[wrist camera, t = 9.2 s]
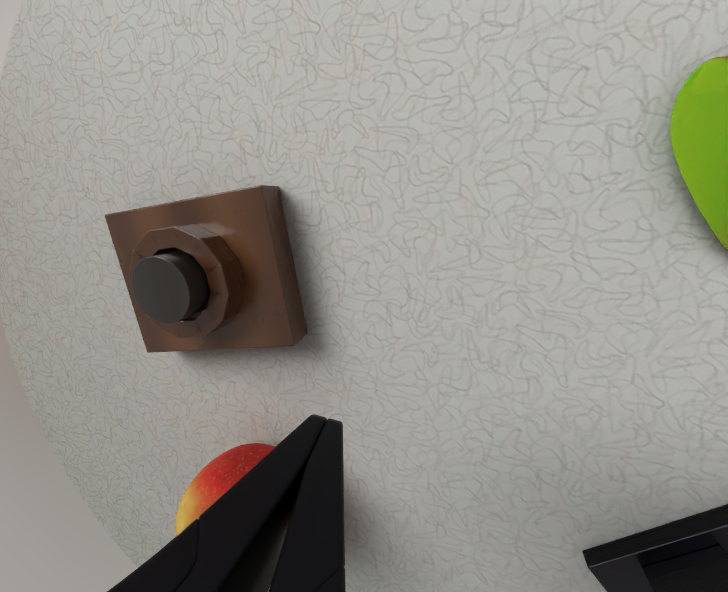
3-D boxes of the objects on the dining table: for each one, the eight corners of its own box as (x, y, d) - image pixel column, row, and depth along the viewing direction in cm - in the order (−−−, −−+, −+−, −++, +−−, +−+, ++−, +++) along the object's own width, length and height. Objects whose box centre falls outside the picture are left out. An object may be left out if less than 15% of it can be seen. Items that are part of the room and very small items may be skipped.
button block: (169, 341, 28) (125, 363, 24) (132, 213, 26) (77, 216, 22) (308, 333, 25) (281, 358, 21) (278, 186, 22) (243, 183, 19)
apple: (225, 479, 31) (124, 603, 21) (241, 404, 28) (133, 508, 19) (310, 520, 29) (241, 670, 20) (334, 446, 27) (269, 579, 17)
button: (164, 316, 23) (142, 325, 21) (147, 255, 22) (122, 260, 20) (216, 312, 22) (197, 321, 20) (200, 248, 21) (178, 252, 19)
